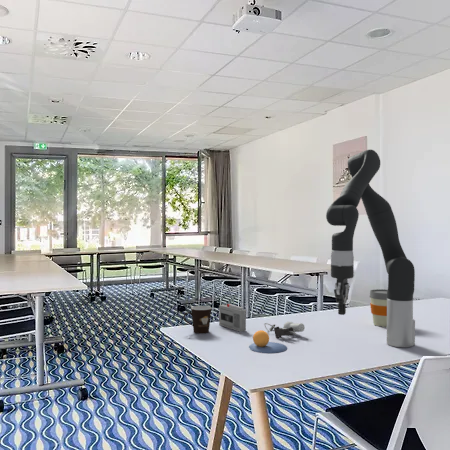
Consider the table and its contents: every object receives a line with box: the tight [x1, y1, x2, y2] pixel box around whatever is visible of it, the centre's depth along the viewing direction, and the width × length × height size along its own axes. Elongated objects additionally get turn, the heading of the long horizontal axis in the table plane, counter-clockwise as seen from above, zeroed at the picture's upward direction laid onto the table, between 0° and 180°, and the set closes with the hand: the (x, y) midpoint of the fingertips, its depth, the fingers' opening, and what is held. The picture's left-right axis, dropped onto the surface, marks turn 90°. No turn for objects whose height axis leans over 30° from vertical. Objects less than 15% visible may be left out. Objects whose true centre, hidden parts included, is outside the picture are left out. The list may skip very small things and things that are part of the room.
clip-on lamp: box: [263, 321, 305, 339], centre depth 188 cm, size 12×6×18 cm
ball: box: [252, 329, 270, 347], centre depth 170 cm, size 6×6×6 cm
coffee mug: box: [183, 305, 212, 334], centre depth 192 cm, size 12×9×10 cm
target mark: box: [248, 341, 288, 354], centre depth 168 cm, size 14×14×1 cm
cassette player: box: [218, 303, 247, 333], centre depth 199 cm, size 16×3×10 cm, turn 36°
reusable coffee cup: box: [369, 288, 388, 328], centre depth 205 cm, size 12×13×15 cm
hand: (341, 314), depth 156 cm, fingers closed
